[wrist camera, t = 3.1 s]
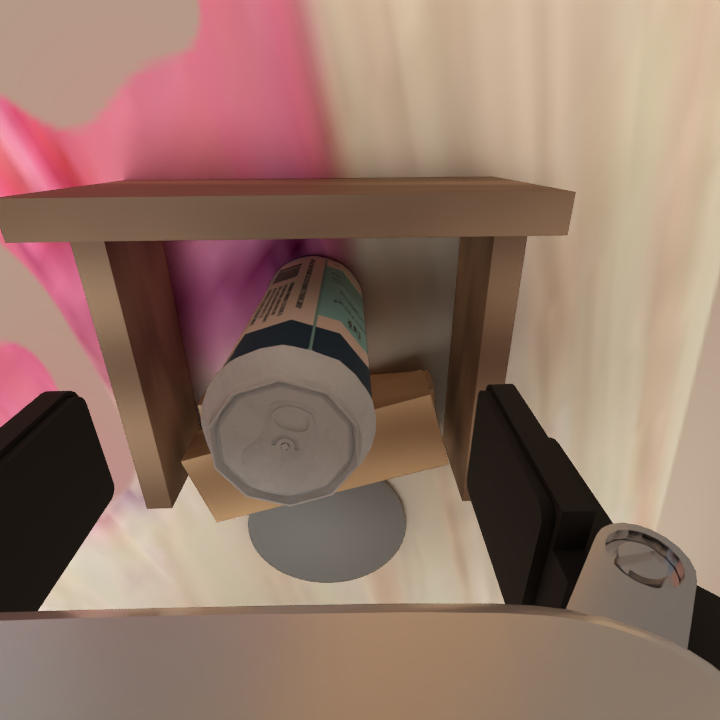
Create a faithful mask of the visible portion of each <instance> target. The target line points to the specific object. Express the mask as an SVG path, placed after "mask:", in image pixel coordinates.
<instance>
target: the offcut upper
mask: <svg viewBox="0 0 720 720" xmlns="http://www.w3.org/2000/svg"><path fill="white" fill-rule="evenodd" d="M371 392H372V401H373V405H374V410H375V414H376V432H375V436H374V439H373V443H372V447H371V449H370V450H369V452H368V454H367V456H366V457H365V459H364V461H363V462H362V464H361V465H360V466H359V467H358V468H356V469H355V470H354V472H353V473H352V474H351V475H350V476H349V477H348V478H347V479H346V480H345V482H344V483H343V484H342V485H341V486H340V487H339V488H338V489H337V490H336V492H339V491H343V490H347V489H351V488H355V487H359V486H363V485H367V484H371V483H375V482H379V481H383V480H387V479H391V478H395V477H399V476H403V475H407V474H411V473H415V472H419V471H423V470H427V469H431V468H435V467H439V466H443V465H447V464H449V462H448V459H447V455H446V451H445V447H444V444H443V440H442V436H441V432H440V428H439V425H438V421H437V417H436V413H435V410H434V406H433V402H432V398H431V395H430V392H429V389H428V386H427V383H426V380H425V377H424V374H423V371H422V369H421V370H417V371H413V372H410V373H406V374H402V375H399V376H395V377H392V378H388V379H384V380H381V381H377V382H373V383H371ZM181 463H182V465H183V466H184V468H185V470H186V471H187V473H188V475H189V476H190V478H191V480H192V481H193V483H194V485H195V486H196V488H197V490H198V491H199V493H200V495H201V496H202V498H203V500H204V501H205V503H206V505H207V506H208V508H209V510H210V512H211V513H212V515H213V517H214V518H215V520H216V522H220V521H224V520H228V519H232V518H236V517H240V516H244V515H248V514H252V513H256V512H260V511H264V510H268V509H272V508H276V507H279V506H283V505H281V504H276V503H272V502H267V501H263V500H258V499H253V498H249V497H246V496H245V495H243V494H242V493H241V492H240V491H239V490H238V489H237V488H236V487H234V486H233V485H232V484H231V483H230V482H229V481H228V480H227V479H225V478H224V477H223V476H222V475H221V474H220V473H219V472H218V471H216V470H215V469H214V466H213V460H212V456H211V452H210V450H209V447H208V445H207V442H206V439H205V436H204V432H203V430H199V431H197V432H196V434H195V436H194V438H193V440H192V442H191V444H190V445H189V447H188V449H187V451H186V453H185V455H184V456H183V458H182V460H181Z"/></svg>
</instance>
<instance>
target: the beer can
mask: <svg viewBox="0 0 720 720" xmlns="http://www.w3.org/2000/svg"><path fill="white" fill-rule="evenodd" d="M363 304H364V300H363V295H362V290H361V288H360V285H359V283H358V282H357V280H356V279H355V277H354V276H353V274H352V273H351V272H350V271H349V270H348V269H347V268H345V267H344V266H343V265H342V264H340V263H338V262H336V261H334V260H331V259H329V258H324V257H320V256H306V257H300V258H298V259H295V260H293V261H290V262H288V263H287V264H285V265H284V266H282V267H281V268H280V269H279V270H278V271H277V272H276V274H275V275H274V277H273V278H272V280H271V282H270V283H269V286H268V289H267V291H266V293H265V295H264V296H263V298H262V300H261V302H260V303H259V305H258V307H257V309H256V310H255V312H254V314H253V316H252V317H251V319H250V321H249V323H248V324H247V326H246V328H245V330H244V331H243V333H242V335H241V337H240V338H239V340H238V342H237V343H236V345H235V347H234V349H233V350H232V352H231V354H230V356H229V357H228V359H227V361H226V363H225V364H224V366H223V368H222V369H221V370H220V371H219V372H218V373H217V374H216V376H215V377H214V379H213V380H212V382H211V383H210V385H209V387H208V388H207V391H206V394H205V397H204V400H203V403H202V412H201V426H202V429H203V432H204V436H205V439H206V442H207V445H208V447H209V450H210V452H211V456H212V460H213V466H214V469H215V470H216V471H218V472H219V473H220V474H221V475H222V476H223V477H224V478H225V479H227V480H228V481H229V482H230V483H231V484H232V485H233V486H234V487H236V488H237V489H238V490H239V491H240V492H241V493H242V494H243V495H245V496H246V497H249V498H253V499H258V500H263V501H267V502H272V503H276V504H281V505H285V506H290V507H291V506H294V505H298V504H302V503H305V502H309V501H313V500H316V499H320V498H324V497H327V496H331V495H333V494H334V493H335V492H336V490H337V489H338V488H339V487H340V486H341V485H342V484H343V483H344V482H345V480H346V479H347V478H348V477H349V476H350V475H351V474H352V473H353V472H354V470H355V469H356V468H358V467H359V466H360V465H361V464H362V462H363V461H364V459H365V457H366V456H367V454H368V452H369V450H370V449H371V447H372V443H373V439H374V436H375V432H376V414H375V410H374V405H373V401H372V392H371V381H370V371H369V361H368V351H367V340H366V330H365V320H364V310H363Z"/></svg>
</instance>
